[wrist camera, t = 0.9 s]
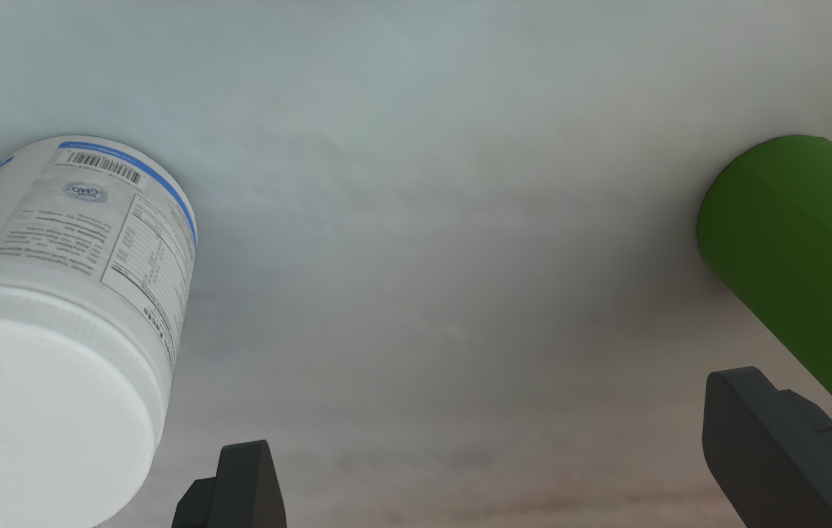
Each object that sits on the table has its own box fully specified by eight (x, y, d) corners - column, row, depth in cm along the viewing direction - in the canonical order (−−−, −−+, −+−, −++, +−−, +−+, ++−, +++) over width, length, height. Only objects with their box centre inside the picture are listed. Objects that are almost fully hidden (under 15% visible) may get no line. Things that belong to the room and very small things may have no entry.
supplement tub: (57, 333, 37) (-60, 589, 25) (-64, 171, 32) (-286, 390, 20) (236, 269, 37) (210, 496, 24) (142, 95, 32) (48, 270, 19)
